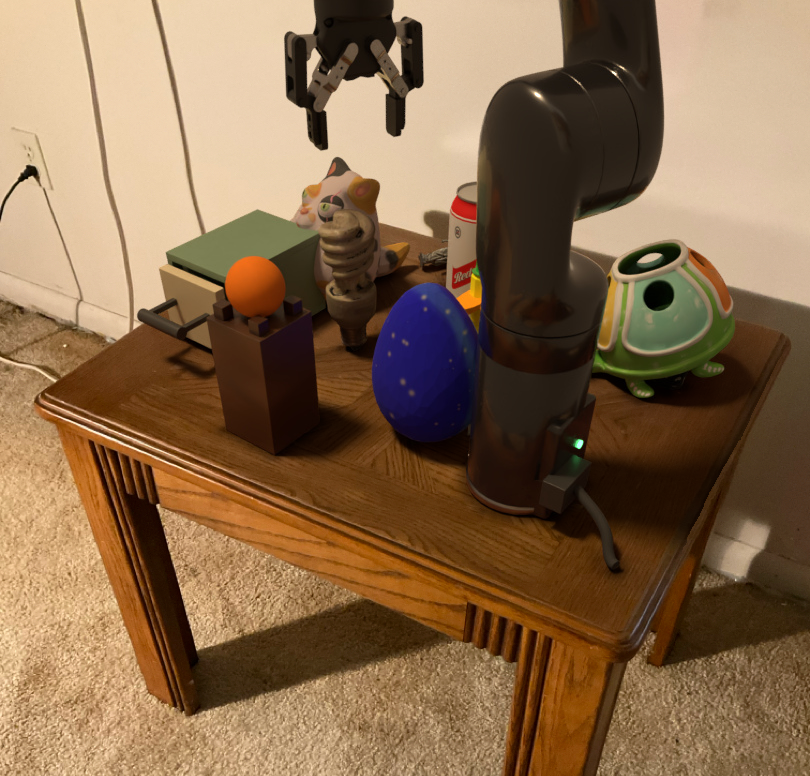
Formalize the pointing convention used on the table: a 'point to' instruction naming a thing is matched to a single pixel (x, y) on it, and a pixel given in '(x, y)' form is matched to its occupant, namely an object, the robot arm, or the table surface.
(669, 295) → the turtle holder
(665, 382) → the toy car
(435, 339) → the ornament
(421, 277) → the table surface
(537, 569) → the table surface
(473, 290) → the toy figure
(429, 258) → the angel statue
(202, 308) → the drawer
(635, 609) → the table surface
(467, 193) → the beer can
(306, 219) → the figurine
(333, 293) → the light bulb
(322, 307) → the cabinet
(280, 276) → the ball
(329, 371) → the table surface
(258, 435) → the stand
